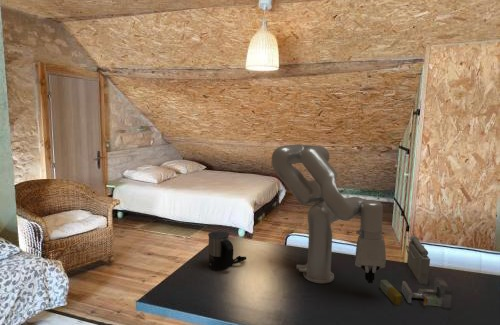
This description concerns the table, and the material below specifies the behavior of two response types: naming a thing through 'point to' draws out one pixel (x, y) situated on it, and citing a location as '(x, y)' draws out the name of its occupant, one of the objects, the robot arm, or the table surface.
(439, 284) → the grey u-shaped bracket
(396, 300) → the medication box
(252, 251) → the table surface
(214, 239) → the milk frother
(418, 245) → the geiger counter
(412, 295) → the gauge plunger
